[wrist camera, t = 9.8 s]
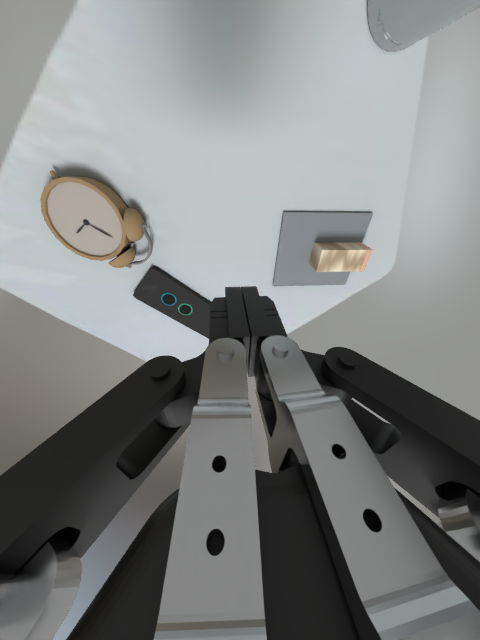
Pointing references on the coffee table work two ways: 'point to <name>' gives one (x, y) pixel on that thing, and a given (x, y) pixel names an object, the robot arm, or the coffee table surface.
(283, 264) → the rubber mat
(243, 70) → the coffee table surface
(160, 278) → the smart home device
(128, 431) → the robot arm
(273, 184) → the coffee table surface
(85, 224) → the alarm clock
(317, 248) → the birch block
